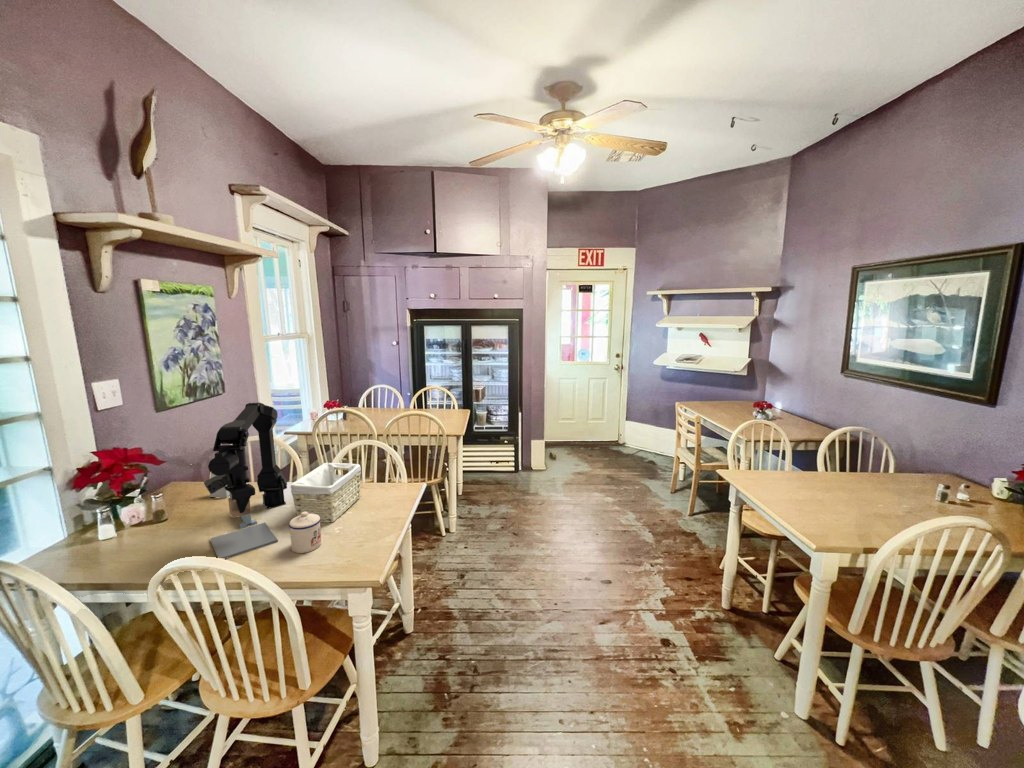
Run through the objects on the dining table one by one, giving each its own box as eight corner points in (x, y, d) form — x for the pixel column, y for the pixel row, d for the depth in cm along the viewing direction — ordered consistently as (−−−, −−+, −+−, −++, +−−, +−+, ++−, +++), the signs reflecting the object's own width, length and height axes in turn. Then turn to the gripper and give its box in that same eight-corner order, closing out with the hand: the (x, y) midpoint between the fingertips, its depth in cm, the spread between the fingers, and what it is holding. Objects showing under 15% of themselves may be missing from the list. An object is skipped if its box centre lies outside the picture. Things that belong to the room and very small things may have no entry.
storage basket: (333, 525, 147) (330, 486, 144) (290, 523, 148) (287, 484, 146) (364, 497, 170) (362, 463, 168) (327, 495, 172) (325, 461, 170)
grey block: (226, 498, 168) (224, 474, 167) (210, 498, 168) (207, 474, 167) (232, 494, 172) (230, 471, 170) (216, 494, 172) (214, 471, 170)
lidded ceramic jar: (317, 552, 129) (314, 518, 127) (286, 555, 128) (283, 520, 126) (328, 533, 141) (326, 501, 139) (300, 535, 140) (297, 503, 138)
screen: (248, 511, 157) (247, 496, 156) (257, 523, 147) (255, 508, 146) (233, 515, 153) (231, 500, 152) (240, 528, 144) (239, 512, 143)
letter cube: (247, 508, 138) (246, 493, 137) (250, 513, 134) (249, 498, 133) (229, 512, 134) (228, 497, 133) (232, 518, 131) (231, 502, 130)
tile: (265, 524, 147) (265, 522, 147) (277, 541, 135) (277, 539, 135) (210, 540, 136) (210, 538, 136) (219, 561, 125) (218, 558, 124)
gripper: (200, 462, 133) (205, 507, 135) (209, 478, 119) (214, 528, 122) (240, 455, 140) (245, 498, 143) (253, 469, 127) (258, 516, 129)
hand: (240, 509), depth 134 cm, fingers closed on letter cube, 5 cm apart
